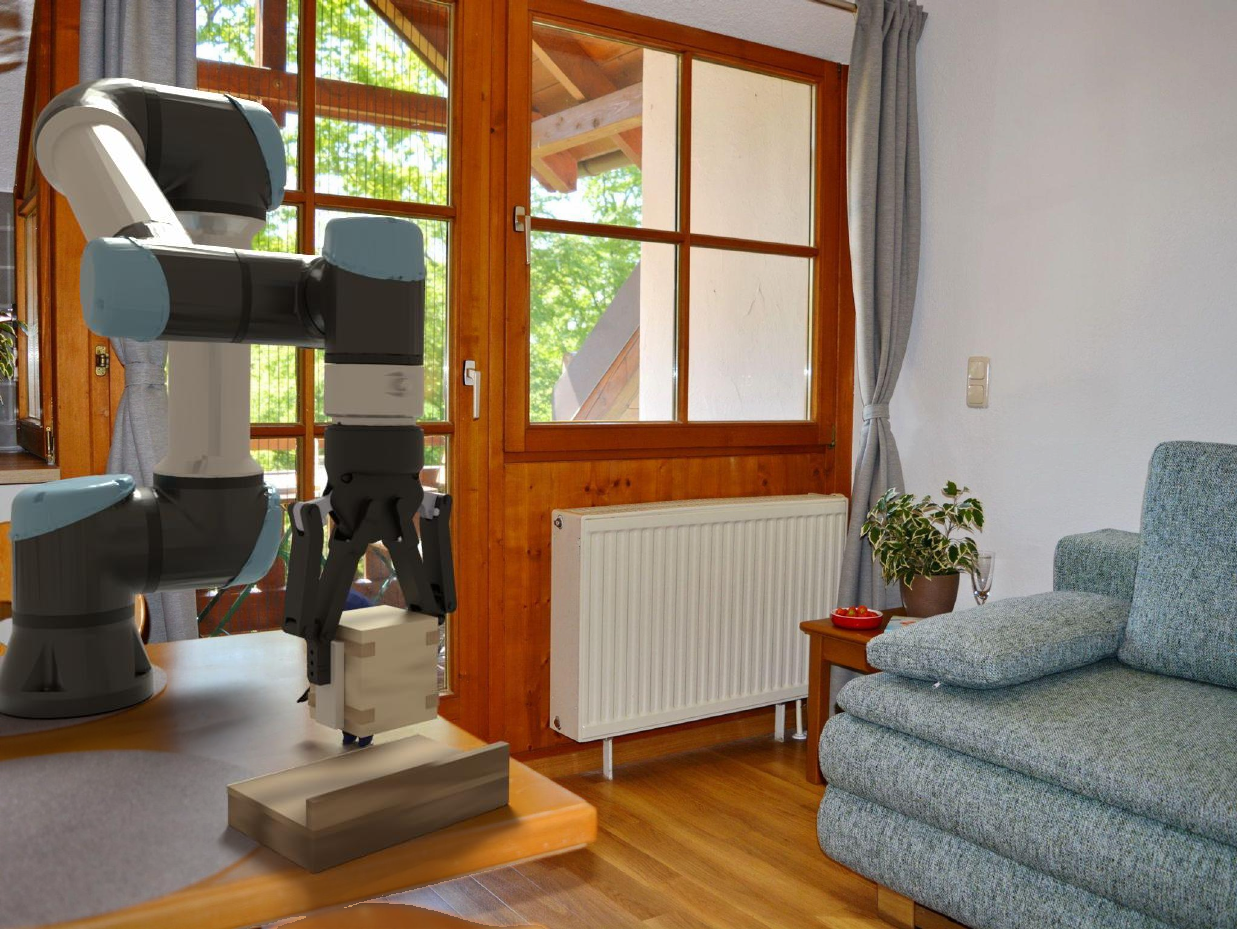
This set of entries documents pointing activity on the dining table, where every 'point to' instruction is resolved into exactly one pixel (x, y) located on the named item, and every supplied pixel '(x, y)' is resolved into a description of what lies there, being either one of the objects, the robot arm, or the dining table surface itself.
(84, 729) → the dining table surface
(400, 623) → the crate
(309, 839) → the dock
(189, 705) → the dining table surface
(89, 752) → the dining table surface
